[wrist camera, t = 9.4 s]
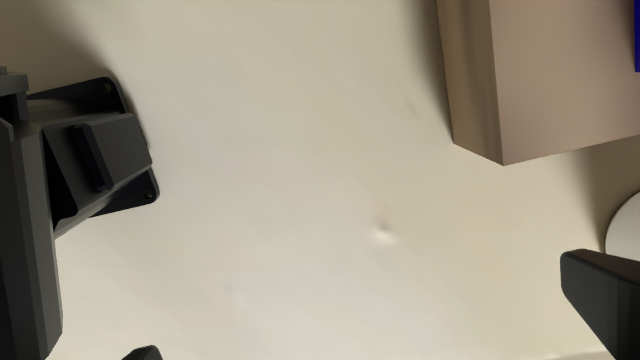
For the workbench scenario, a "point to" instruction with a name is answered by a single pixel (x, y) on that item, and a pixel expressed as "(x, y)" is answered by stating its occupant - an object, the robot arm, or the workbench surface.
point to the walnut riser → (539, 75)
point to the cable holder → (637, 34)
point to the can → (625, 230)
